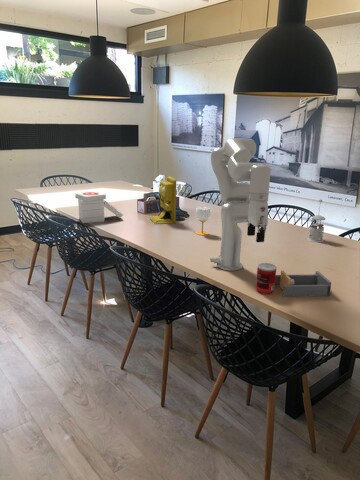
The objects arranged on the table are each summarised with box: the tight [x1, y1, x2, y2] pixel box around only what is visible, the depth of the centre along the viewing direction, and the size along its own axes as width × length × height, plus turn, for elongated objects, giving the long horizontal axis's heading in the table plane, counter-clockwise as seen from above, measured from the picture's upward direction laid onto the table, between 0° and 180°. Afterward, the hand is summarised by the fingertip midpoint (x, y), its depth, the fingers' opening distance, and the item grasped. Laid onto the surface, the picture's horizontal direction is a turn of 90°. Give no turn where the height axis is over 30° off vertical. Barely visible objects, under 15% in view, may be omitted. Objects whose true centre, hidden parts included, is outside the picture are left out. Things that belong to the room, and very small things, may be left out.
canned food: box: [255, 262, 277, 295], centre depth 164 cm, size 8×8×11 cm
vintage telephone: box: [149, 175, 177, 225], centre depth 270 cm, size 31×14×30 cm, turn 17°
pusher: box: [279, 270, 295, 290], centre depth 165 cm, size 4×9×7 cm, turn 5°
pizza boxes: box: [74, 190, 124, 224], centre depth 271 cm, size 19×30×18 cm, turn 112°
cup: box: [194, 206, 211, 236], centre depth 244 cm, size 9×9×16 cm
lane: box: [274, 270, 332, 298], centre depth 166 cm, size 20×12×6 cm, turn 95°
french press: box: [306, 199, 326, 243], centre depth 235 cm, size 10×12×25 cm
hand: (255, 238), depth 159 cm, fingers open, 9 cm apart
